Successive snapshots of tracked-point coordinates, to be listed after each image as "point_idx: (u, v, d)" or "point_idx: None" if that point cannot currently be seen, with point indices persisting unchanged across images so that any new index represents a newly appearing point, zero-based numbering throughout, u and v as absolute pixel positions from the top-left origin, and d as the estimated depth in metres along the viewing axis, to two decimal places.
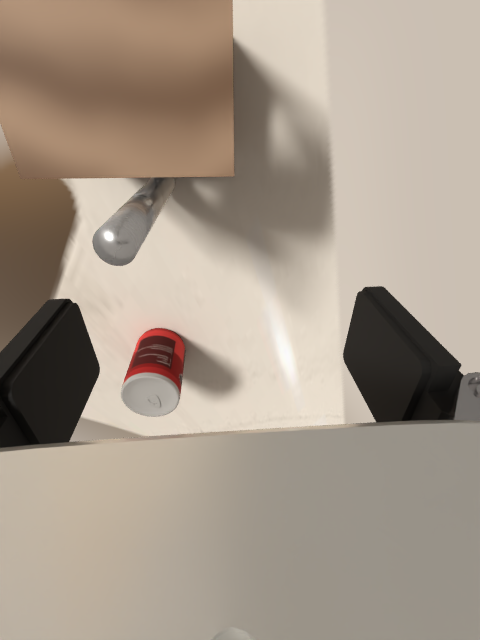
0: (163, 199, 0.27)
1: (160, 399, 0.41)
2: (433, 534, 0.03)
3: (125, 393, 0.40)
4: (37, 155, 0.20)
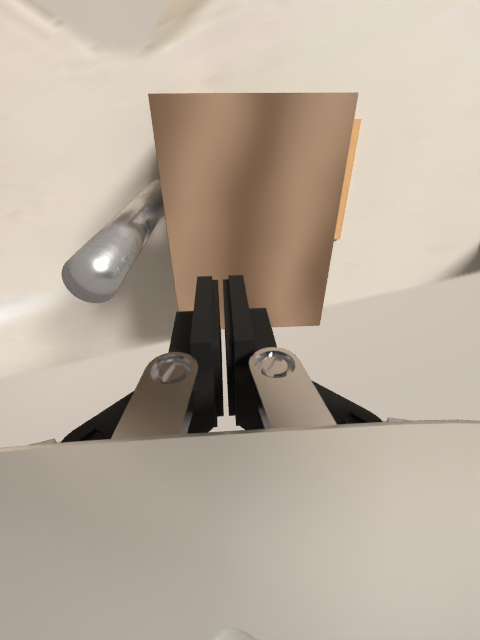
0: None
1: None
2: (433, 534, 0.03)
3: None
4: (179, 131, 0.16)
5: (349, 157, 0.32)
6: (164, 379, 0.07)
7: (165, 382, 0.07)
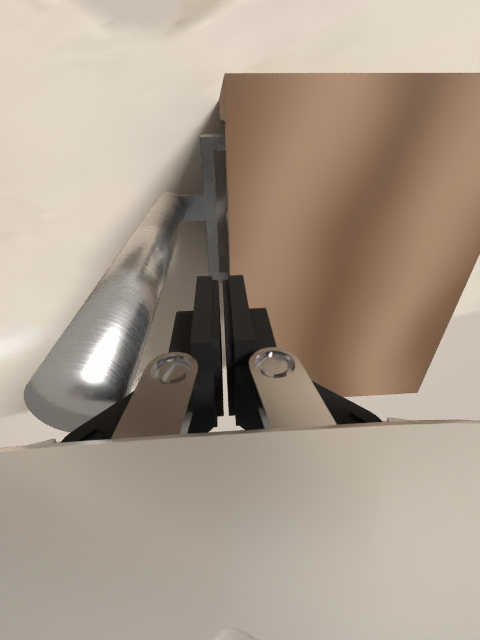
0: None
1: None
2: (433, 534, 0.03)
3: None
4: (268, 135, 0.10)
5: None
6: (164, 379, 0.07)
7: (165, 382, 0.07)
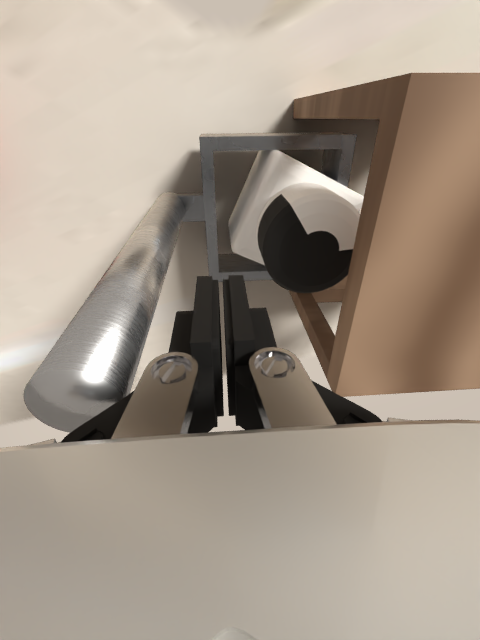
0: None
1: None
2: (433, 534, 0.03)
3: None
4: (436, 132, 0.10)
5: None
6: (164, 379, 0.07)
7: (165, 382, 0.07)
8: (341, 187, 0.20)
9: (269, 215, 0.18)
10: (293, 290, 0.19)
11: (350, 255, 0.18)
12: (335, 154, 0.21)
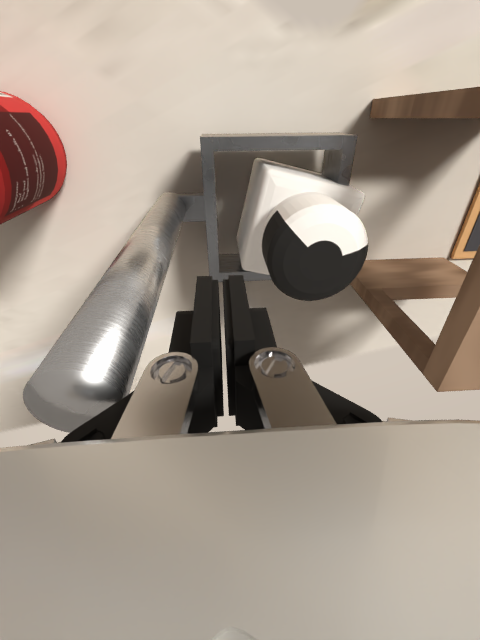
0: None
1: None
2: (433, 534, 0.03)
3: None
4: None
5: None
6: (164, 379, 0.07)
7: (165, 382, 0.07)
8: (337, 188, 0.20)
9: (268, 233, 0.18)
10: (305, 299, 0.20)
11: (355, 257, 0.18)
12: (336, 154, 0.21)
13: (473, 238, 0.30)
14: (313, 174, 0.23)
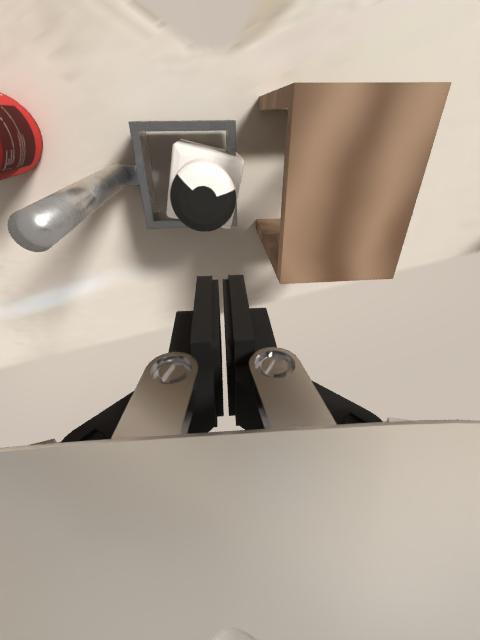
0: None
1: None
2: (433, 534, 0.03)
3: None
4: (312, 112, 0.21)
5: None
6: (164, 379, 0.07)
7: (165, 382, 0.07)
8: (223, 156, 0.30)
9: None
10: (201, 230, 0.29)
11: (226, 198, 0.28)
12: None
13: None
14: (216, 149, 0.33)
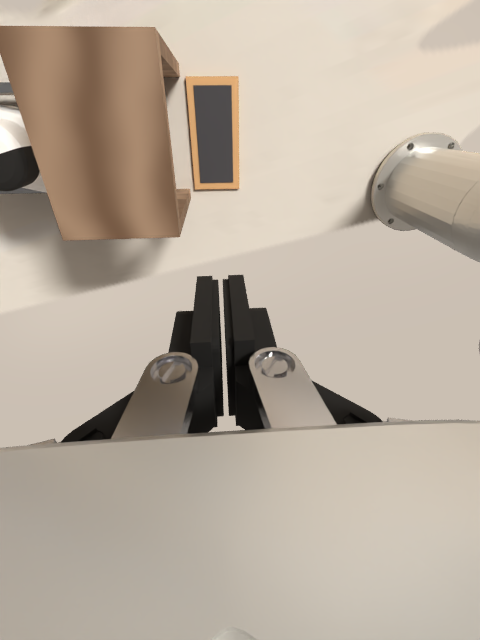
0: None
1: None
2: (433, 534, 0.03)
3: None
4: (22, 57, 0.21)
5: (234, 111, 0.37)
6: (164, 379, 0.07)
7: (165, 382, 0.07)
8: None
9: None
10: None
11: (10, 155, 0.28)
12: None
13: (203, 172, 0.40)
14: None
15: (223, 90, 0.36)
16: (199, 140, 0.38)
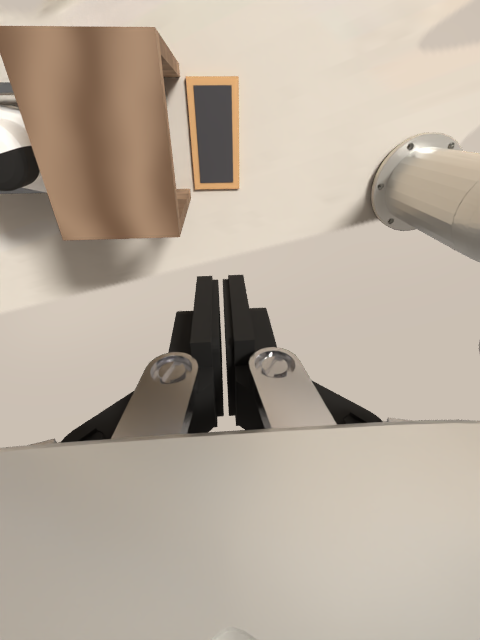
0: None
1: None
2: (433, 534, 0.03)
3: None
4: (22, 57, 0.21)
5: (234, 111, 0.37)
6: (164, 379, 0.07)
7: (165, 382, 0.07)
8: None
9: None
10: None
11: (10, 155, 0.28)
12: None
13: (203, 172, 0.40)
14: None
15: (223, 90, 0.36)
16: (199, 140, 0.38)
